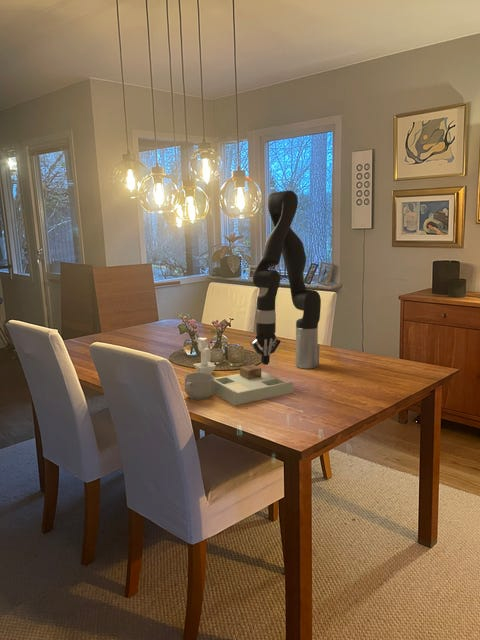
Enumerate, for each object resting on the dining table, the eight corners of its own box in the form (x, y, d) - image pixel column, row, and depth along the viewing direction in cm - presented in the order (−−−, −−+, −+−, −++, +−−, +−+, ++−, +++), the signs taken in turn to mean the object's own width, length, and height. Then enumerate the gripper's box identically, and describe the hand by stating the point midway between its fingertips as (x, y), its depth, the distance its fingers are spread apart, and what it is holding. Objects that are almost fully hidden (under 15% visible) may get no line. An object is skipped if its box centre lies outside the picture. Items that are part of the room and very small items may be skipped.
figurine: (200, 377, 217) (199, 341, 214) (192, 371, 225) (191, 336, 222) (217, 375, 220) (216, 339, 217) (208, 369, 228) (207, 335, 225)
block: (253, 373, 212) (253, 364, 211) (261, 377, 207) (261, 368, 206) (240, 375, 209) (240, 366, 208) (248, 379, 204) (247, 370, 203)
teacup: (199, 390, 201) (198, 369, 200) (221, 396, 194) (220, 375, 193) (172, 400, 191) (171, 379, 189) (194, 407, 184) (193, 384, 182)
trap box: (259, 376, 217) (258, 364, 216) (293, 393, 197) (293, 379, 196) (204, 387, 205) (203, 374, 204) (234, 405, 185) (234, 391, 184)
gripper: (275, 318, 214) (274, 360, 217) (246, 320, 207) (246, 364, 211) (285, 321, 207) (284, 364, 211) (256, 324, 201) (255, 368, 204)
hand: (265, 364), depth 211 cm, fingers closed
